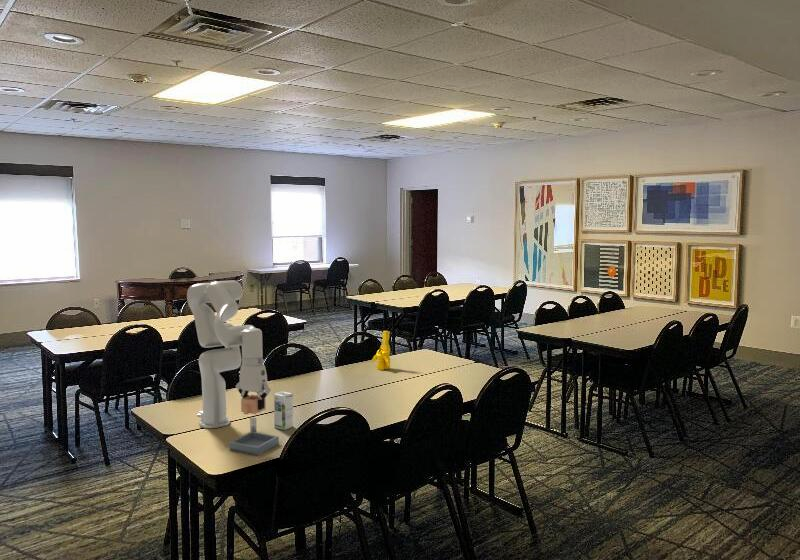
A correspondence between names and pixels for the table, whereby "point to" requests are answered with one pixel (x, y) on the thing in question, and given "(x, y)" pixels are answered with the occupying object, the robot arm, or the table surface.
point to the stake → (253, 425)
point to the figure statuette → (383, 353)
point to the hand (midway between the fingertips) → (253, 407)
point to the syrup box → (283, 410)
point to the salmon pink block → (251, 404)
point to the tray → (254, 443)
